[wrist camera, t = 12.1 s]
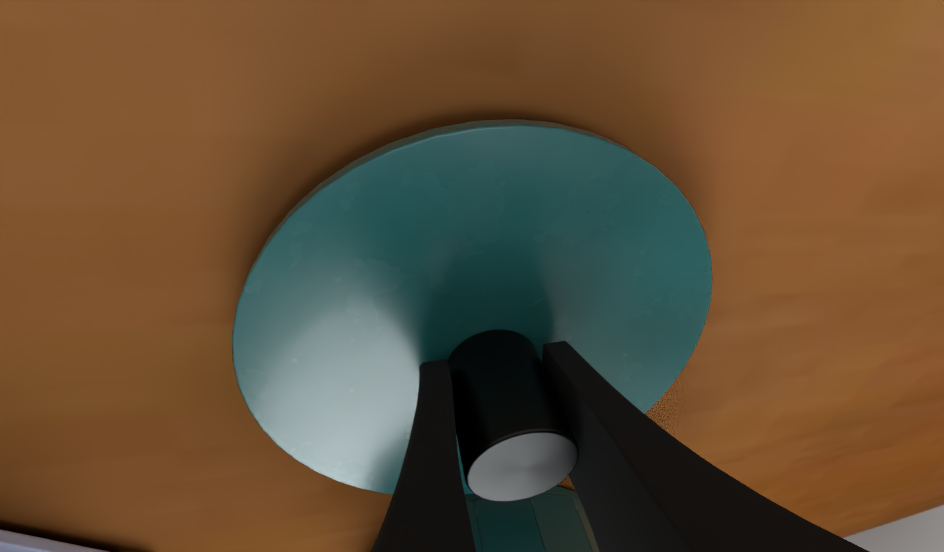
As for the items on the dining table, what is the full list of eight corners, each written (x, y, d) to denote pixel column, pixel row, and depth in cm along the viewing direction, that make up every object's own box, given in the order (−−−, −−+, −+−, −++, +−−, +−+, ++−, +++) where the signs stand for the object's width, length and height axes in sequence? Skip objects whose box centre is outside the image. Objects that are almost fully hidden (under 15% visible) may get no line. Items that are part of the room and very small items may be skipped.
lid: (135, 365, 11) (29, 539, 8) (522, -44, 8) (640, -61, 4) (465, 504, 18) (488, 630, 15) (747, 316, 15) (864, 421, 11)
